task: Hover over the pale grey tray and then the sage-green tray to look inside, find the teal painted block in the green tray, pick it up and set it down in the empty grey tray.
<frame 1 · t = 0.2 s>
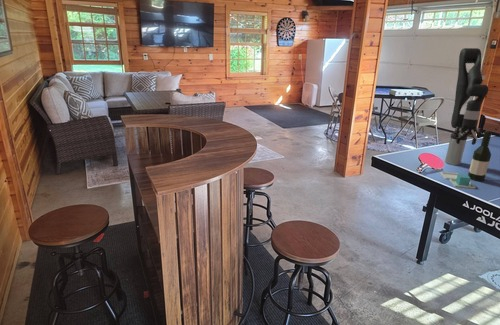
hand: (465, 144, 203), 17 cm above the table, tool pointing down, fingers open, 8 cm apart
teal block: (461, 184, 186), resting on green tray
grey tray: (451, 177, 196), on the table
green tray: (461, 185, 186), on the table
wine bottle: (475, 179, 194), on the table
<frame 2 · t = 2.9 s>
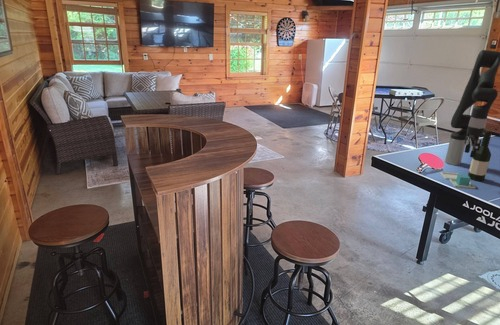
hand: (469, 154, 180), 18 cm above the table, tool pointing down, fingers open, 8 cm apart
nothing on the table moved.
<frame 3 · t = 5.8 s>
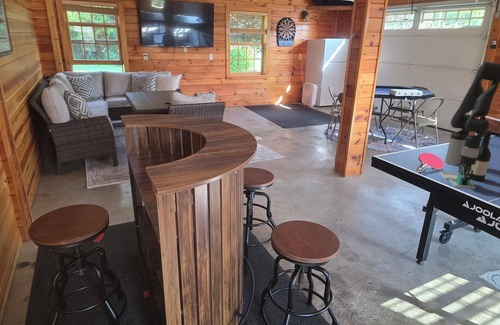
hand: (462, 183, 185), 1 cm above the table, tool pointing down, fingers closed on teal block, 5 cm apart
teal block: (461, 184, 186), point 1 cm above the table, touching green tray, gripper
everything else where it was.
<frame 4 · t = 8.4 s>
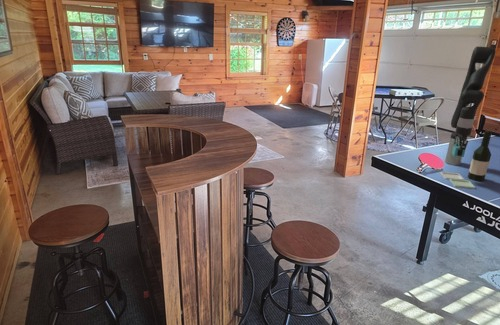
hand: (457, 154, 191), 15 cm above the table, tool pointing down, fingers closed on teal block, 5 cm apart
teal block: (457, 155, 192), point 14 cm above the table, touching gripper
everything else where it was.
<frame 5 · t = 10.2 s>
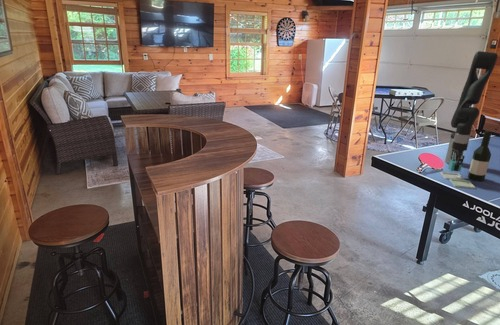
hand: (454, 168, 194), 6 cm above the table, tool pointing down, fingers closed on teal block, 5 cm apart
teal block: (454, 169, 195), point 5 cm above the table, touching gripper
everything else where it was.
when the fingers open (3 cm above the table, at t = 11.3 s): teal block drops 1 cm, resting on grey tray.
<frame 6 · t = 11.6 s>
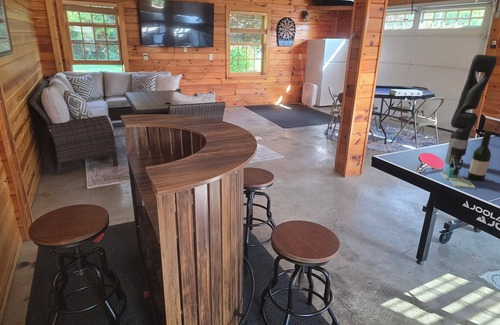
hand: (452, 172, 195), 3 cm above the table, tool pointing down, fingers open, 7 cm apart
teal block: (451, 176, 196), resting on grey tray
everything else where it was.
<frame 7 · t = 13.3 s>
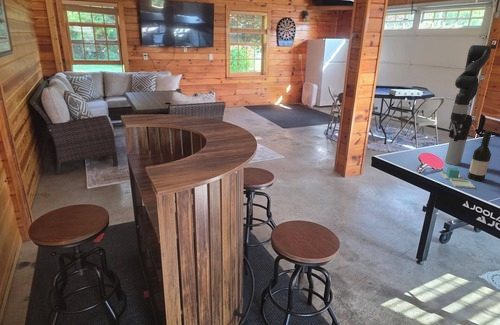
hand: (453, 139, 192), 23 cm above the table, tool pointing down, fingers open, 8 cm apart
nothing on the table moved.
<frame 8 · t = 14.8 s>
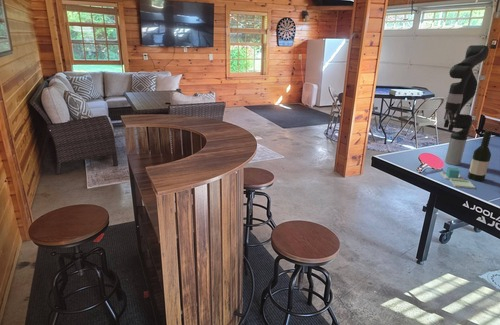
hand: (447, 129, 194), 28 cm above the table, tool pointing down, fingers open, 8 cm apart
nothing on the table moved.
at the end: teal block 0.2 cm off-centre on the grey tray, point 0.5 cm above the grey tray's base; teal block tilted 0°; the gripper is holding nothing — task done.
